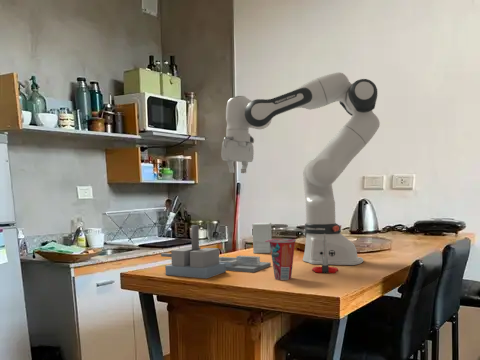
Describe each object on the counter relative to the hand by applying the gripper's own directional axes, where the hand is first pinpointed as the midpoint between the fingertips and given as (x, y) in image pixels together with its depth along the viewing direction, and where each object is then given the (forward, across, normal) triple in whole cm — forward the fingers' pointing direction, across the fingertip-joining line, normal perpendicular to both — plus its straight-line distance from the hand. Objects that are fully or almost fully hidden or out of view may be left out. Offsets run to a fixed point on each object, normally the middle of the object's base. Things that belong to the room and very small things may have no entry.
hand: (238, 173), depth 187 cm
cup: (+34, -28, -30) cm, 53 cm away
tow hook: (+34, -10, -38) cm, 52 cm away
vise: (+34, -31, +3) cm, 46 cm away
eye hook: (+33, -16, -7) cm, 37 cm away
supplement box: (+34, +23, +1) cm, 41 cm away
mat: (+34, -15, -6) cm, 38 cm away
